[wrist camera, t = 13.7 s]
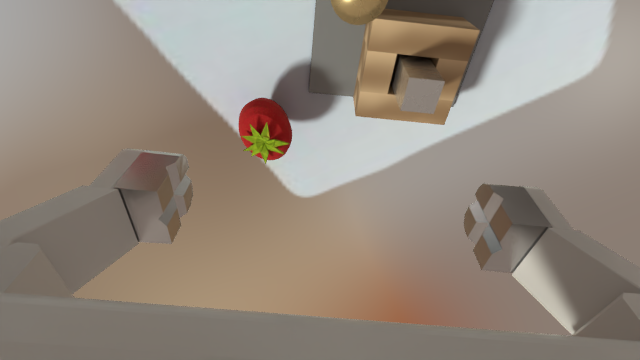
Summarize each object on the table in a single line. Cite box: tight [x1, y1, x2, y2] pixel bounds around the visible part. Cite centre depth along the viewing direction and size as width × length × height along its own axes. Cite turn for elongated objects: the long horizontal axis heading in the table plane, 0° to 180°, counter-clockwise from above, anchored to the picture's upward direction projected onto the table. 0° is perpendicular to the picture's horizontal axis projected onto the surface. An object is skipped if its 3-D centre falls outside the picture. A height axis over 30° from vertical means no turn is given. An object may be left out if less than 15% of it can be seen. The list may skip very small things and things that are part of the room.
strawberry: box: [239, 98, 292, 164], centre depth 38 cm, size 6×8×10 cm
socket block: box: [353, 9, 480, 125], centre depth 35 cm, size 10×10×5 cm
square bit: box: [390, 54, 445, 114], centre depth 33 cm, size 3×3×9 cm
